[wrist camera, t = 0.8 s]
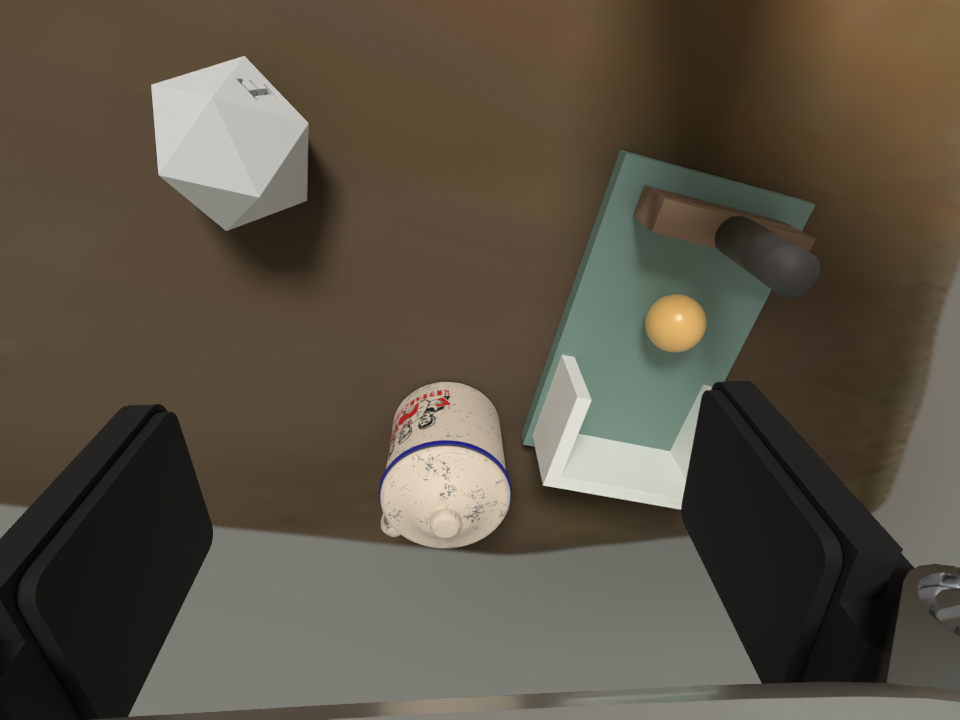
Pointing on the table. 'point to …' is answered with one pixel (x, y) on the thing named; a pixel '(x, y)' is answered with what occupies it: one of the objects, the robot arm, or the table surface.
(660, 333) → the ball
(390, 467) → the teacup with lid
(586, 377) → the game board
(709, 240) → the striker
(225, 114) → the die
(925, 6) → the table surface
